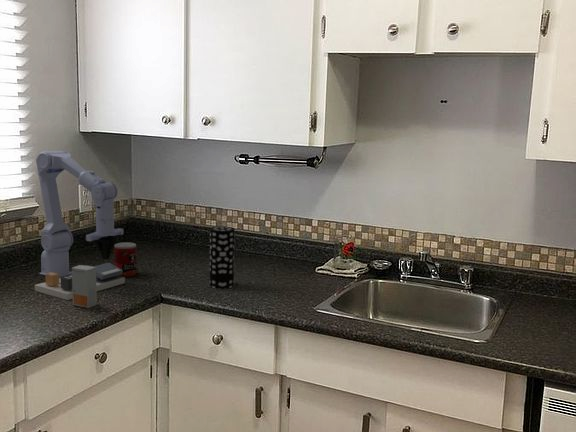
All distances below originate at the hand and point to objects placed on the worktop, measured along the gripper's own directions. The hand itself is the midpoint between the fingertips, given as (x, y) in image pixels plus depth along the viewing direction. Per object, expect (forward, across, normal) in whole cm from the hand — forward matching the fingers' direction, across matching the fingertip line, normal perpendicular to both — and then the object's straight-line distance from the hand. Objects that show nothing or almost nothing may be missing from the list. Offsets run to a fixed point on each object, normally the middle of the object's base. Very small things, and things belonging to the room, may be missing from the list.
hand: (105, 258), depth 208 cm
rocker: (+5, +1, +2) cm, 5 cm away
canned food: (+10, +14, +5) cm, 18 cm away
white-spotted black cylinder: (+10, +24, -31) cm, 40 cm away
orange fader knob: (+7, -15, +8) cm, 19 cm away
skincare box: (+10, -18, -11) cm, 23 cm away
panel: (+9, -6, +5) cm, 12 cm away
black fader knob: (+7, -15, +1) cm, 17 cm away
